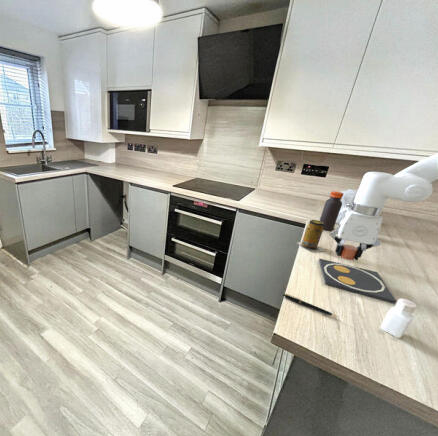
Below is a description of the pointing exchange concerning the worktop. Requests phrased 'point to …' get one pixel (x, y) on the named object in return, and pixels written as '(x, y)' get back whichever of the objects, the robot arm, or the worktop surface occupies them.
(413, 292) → the worktop surface
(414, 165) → the robot arm
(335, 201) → the bottle
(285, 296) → the fountain pen
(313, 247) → the condiment
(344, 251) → the red faceted block
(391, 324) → the pepper shaker
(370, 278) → the face board
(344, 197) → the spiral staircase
